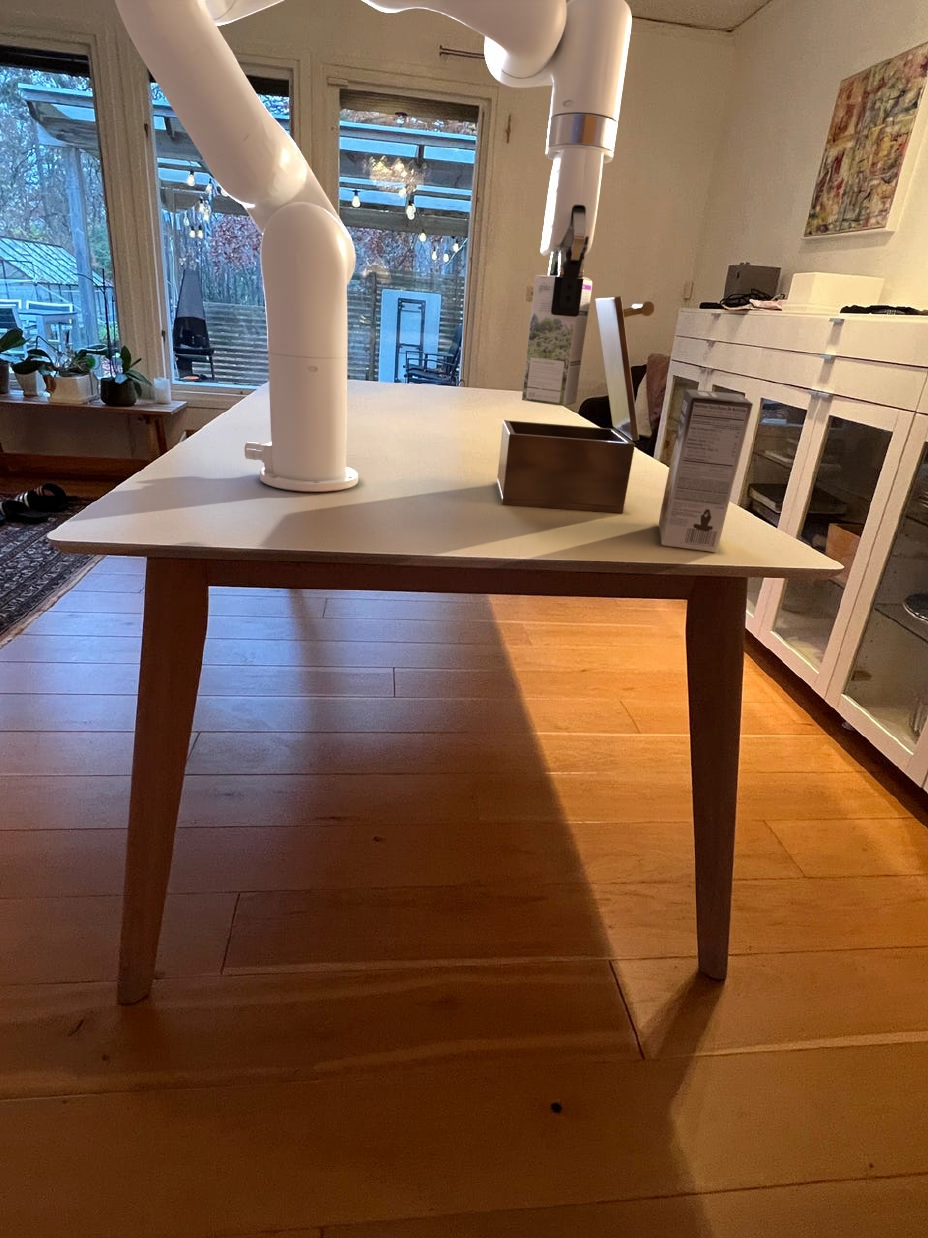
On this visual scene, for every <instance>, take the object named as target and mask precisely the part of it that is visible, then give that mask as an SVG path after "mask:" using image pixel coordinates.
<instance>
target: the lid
mask: <svg viewBox="0 0 928 1238" xmlns="http://www.w3.org/2000/svg"><path fill="white" fill-rule="evenodd" d="M595 307H596V313H597V319H598V320H597V321H598V327H599V335H600V342H601V350H602V355H603V356H602V357H603V364H604V370H605V371H604V372H605V378H606V379H605V380H606V385H607V393H608V400H609V408H610V414H611V422H612V427H613V428H614V429H616V430H617V431H618V432H619V431H620V432H619V433H621V434H622V435H623V436H625V437H626V438H627V439H629V440H630V441H632V442H633V441H638V440H640V436H639V429H638V419H637V412H636V411H637V410H636V405H635V394H634V387H633V379H632V371H631V364H630V356H629V354H630V353H629V346H628V339H627V331H626V323H625V318H629V317H634V316H635V317H636V316H637V317H650V316H652V315H653V314H654V312H655V309H656V307H655V304H654V302H652V301H636V302H634V303H633V304H632V306H630V307H627V308H624V305H623V299H622V296H621V295H617V296H603V297H598V298H595Z"/></svg>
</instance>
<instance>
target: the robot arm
mask: <svg viewBox="0 0 928 1238" xmlns="http://www.w3.org/2000/svg"><path fill="white" fill-rule="evenodd" d="M284 1H285V0H114V2H115V4H116V8H117V11H118V13H119V15H120V19H121V20H122V23H123V25H124V27H125V30H126V31H127V34H128V36H129V37H130V40H131V41H132V44H133V45H134V47H135V49H136V50H137V52H138V54H139V56H140V57H141V59H142V61H143V63H144V64H145V66H146V68H147V70H149V72H150V75H151V76H152V77H153V79H154V81H155V83H156V84H157V85H158V87H159V89H160V90H161V92H162V94H163V95H164V97H165V98H166V101H167V103H169V105H170V107H171V109H172V111H173V112H174V114H175V116H176V117H177V119H178V120H179V122H180V124H181V125H182V127H183V129H184V130H185V131H186V133H187V135H188V137H189V138H190V139H191V141H192V143H193V144H194V146H195V147H196V149H197V151H198V152H199V154H200V156H201V157H202V159H203V161H204V162H205V164H206V166H207V167H208V169H209V171H210V173H211V174H212V177H213V179H214V180H215V182H216V183H217V185H218V186H219V187H220V188H221V189H222V191H223V192H224V193H225V194H226V195H227V196H229V197H230V198H231V199H232V200H234V201H235V202H237V203H239V204H241V205H242V207H243V208H244V209H245V211H246V212H247V213H248V216H249V217H250V219H251V220H252V222H253V223H254V225H255V226H256V228H257V230H258V231H259V233H260V234H261V240H260V251H259V255H260V256H259V257H260V270H261V278H262V279H261V281H262V287H263V295H264V304H265V306H264V307H265V319H266V338H267V339H266V340H267V343H266V344H267V358H268V359H267V361H268V385H269V386H268V388H269V389H268V391H269V393H268V394H269V421H270V424H269V425H270V441H269V442H267V443H264V444H262V443H260V442H251V441H246V442H245V445H244V450H243V451H244V458H245V459H246V460H253V461H258V460H259V461H261V462H262V463H263V467H262V468H261V469H260V470H259V480H260V481H261V482H262V483H263V484H265V485H267V486H269V487H273V488H276V489H280V490H281V489H282V490H287V491H293V492H294V491H295V492H312V493H313V492H317V493H319V492H320V493H321V492H322V493H323V492H335V491H341V490H342V491H343V490H346V489H347V490H348V489H349V488H353V487H355V486H356V485H357V484H358V483H359V473H358V471H356V470H355V469H352V468H350V467H347V451H348V450H347V447H348V446H347V444H348V441H347V440H348V438H347V436H348V435H347V434H348V345H349V344H348V342H349V341H348V331H349V330H348V329H349V328H348V285H349V283H350V281H351V280H352V278H353V275H354V273H355V268H356V250H355V245H354V243H353V239H352V237H351V235H350V233H349V231H348V230H347V228H346V226H345V225H344V223H343V221H342V220H341V217H340V216H339V215H338V213H337V211H336V209H335V208H334V206H333V205H332V203H331V200H330V199H329V197H328V196H327V194H326V192H325V191H324V189H323V187H322V185H321V184H320V182H319V180H318V179H317V177H316V176H315V174H314V172H313V170H312V168H311V167H310V166H309V165H310V164H308V162H307V160H306V158H305V157H304V155H303V154H302V152H301V150H300V149H299V147H298V146H297V144H296V142H295V141H294V139H293V138H292V137H291V136H290V134H289V133H288V132H287V131H286V130H285V128H284V127H283V126H282V125H281V124H280V123H279V122H278V121H277V120H276V118H274V116H273V115H272V114H271V113H270V112H269V110H268V109H267V108H266V105H264V103H263V102H262V100H261V99H260V97H259V96H258V94H257V92H256V90H255V89H254V88H253V86H252V84H251V83H250V81H249V79H248V78H247V75H246V74H245V73H244V71H243V69H242V68H241V65H240V64H239V62H238V60H237V58H236V56H235V54H234V52H233V51H232V49H231V48H230V46H229V44H228V43H227V41H226V39H225V38H224V36H223V35H222V33H221V31H220V29H219V28H218V26H222V25H226V24H230V23H233V22H235V21H237V20H240V19H243V18H244V17H248V16H250V15H253V14H255V13H257V12H260V11H262V10H265V9H267V8H270V7H271V6H274V5H277V4H279V3H281V2H284ZM362 1H363V2H364V3H366V4H368V5H369V6H371V7H373V8H374V9H376V10H378V11H380V12H383V13H394V14H395V13H399V12H402V11H406V10H411V9H424V10H429V11H433V12H436V13H439V14H442V15H445V16H447V17H449V18H450V19H451V18H452V19H454V20H456V21H457V22H459V23H462V24H463V25H465V26H467V27H469V28H470V29H472V30H474V31H476V32H477V33H479V34H481V35H482V36H484V45H483V46H484V47H483V49H484V58H485V62H486V64H487V68H488V70H489V72H490V74H491V75H492V76H493V77H494V78H495V80H497V81H498V82H499V83H501V84H503V85H504V86H506V87H510V88H516V89H525V88H538V87H549V86H552V89H551V90H552V91H551V99H550V100H551V101H550V109H549V110H550V111H549V120H548V128H547V138H546V147H545V157H546V158H547V159H548V160H551V161H553V163H552V168H551V173H550V178H549V185H548V192H547V199H546V207H545V215H544V223H543V230H542V238H541V243H540V244H541V245H540V254H541V255H542V256H543V257H547V256H549V255H550V260H549V266H548V271H547V275H551V276H555V282H554V290H553V299H552V307H551V313H552V314H553V315H560V316H572V317H577V316H578V315H579V310H580V302H581V295H582V287H583V280H584V279H581V278H583V277H584V274H585V255H587V254H588V253H589V252H590V251H591V249H592V245H593V240H594V235H595V229H596V223H597V222H596V221H597V216H598V209H599V208H598V207H599V200H600V193H601V184H602V183H601V182H602V176H603V165H604V164H605V165H606V164H608V163H609V164H610V163H611V162H612V161H614V152H615V146H616V145H615V144H616V139H617V132H618V125H619V124H618V123H619V117H620V111H621V102H622V96H623V95H622V94H623V90H624V89H623V88H624V80H625V73H626V66H627V61H628V60H627V59H628V52H629V46H630V45H629V44H630V38H631V31H632V22H633V17H632V11H631V8H630V6H629V4H628V3H627V1H625V0H568V1H567V0H362ZM558 276H560V277H558Z"/></svg>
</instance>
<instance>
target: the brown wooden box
mask: <svg viewBox="0 0 928 1238" xmlns="http://www.w3.org/2000/svg"><path fill="white" fill-rule="evenodd" d="M635 446H636V444H635V443H634V442H633V441H632V440H631V439H630V438H628V437H627V436H626V435H624V434H623V433H622V432H619V430H618V429H616V428H608V427H606V428H605V427H594V426H581V425H572V424H571V425H569V424H557V423H556V424H555V423H546V422H545V423H544V422H532V421H521V420H520V421H519V420H509V419H503V420H502V428H501V438H500V447H499V448H500V449H499V459H498V467H497V468H498V469H497V476H496V477H497V478H496V485H497V489H498V493H499V498H500V501H501V505H507V506H519V507H520V506H521V507H532V508H545V509H559V510H571V511H572V510H573V511H586V512H587V511H588V512H599V513H600V512H601V513H613V514H623V513H624V510H625V503H626V497H627V492H628V486H629V480H630V474H631V470H632V464H633V459H634V458H633V457H634V452H635Z"/></svg>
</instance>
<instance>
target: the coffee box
mask: <svg viewBox="0 0 928 1238" xmlns="http://www.w3.org/2000/svg"><path fill="white" fill-rule="evenodd" d="M683 392H684V393H683V396H682V397H683V398H682V403H681V407H680V413H679V416H678V417H679V418H678V423H677V428H676V433H675V438H674V442H673V448H672V453H671V457H670V463H669V467H668V468H669V469H668V472H667V478H666V483H665V488H664V491H663V498H662V501H661V502H662V503H661V508H660V513H659V519H658V528H659V535H660V543H661V546H665V547H673V548H680V549H686V550H687V549H688V550H696V551H702V552H710V553H717V552H718V549H719V545H720V540H721V536H722V532H723V529H724V525H725V520H726V517H727V512H728V507H729V504H730V501H731V495H732V492H733V487H734V484H735V479H736V475H737V472H738V468H739V465H740V464H739V463H740V461H741V456H742V451H743V448H744V443H745V439H746V436H747V432H748V428H749V424H750V419H751V415H752V411H753V408H754V403H753V402H751V401H750V400H749V399H748V398H747V397H745V396H744V395H743V394H741V393H729V392H720V391H711V390H700V389H684V391H683Z"/></svg>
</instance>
